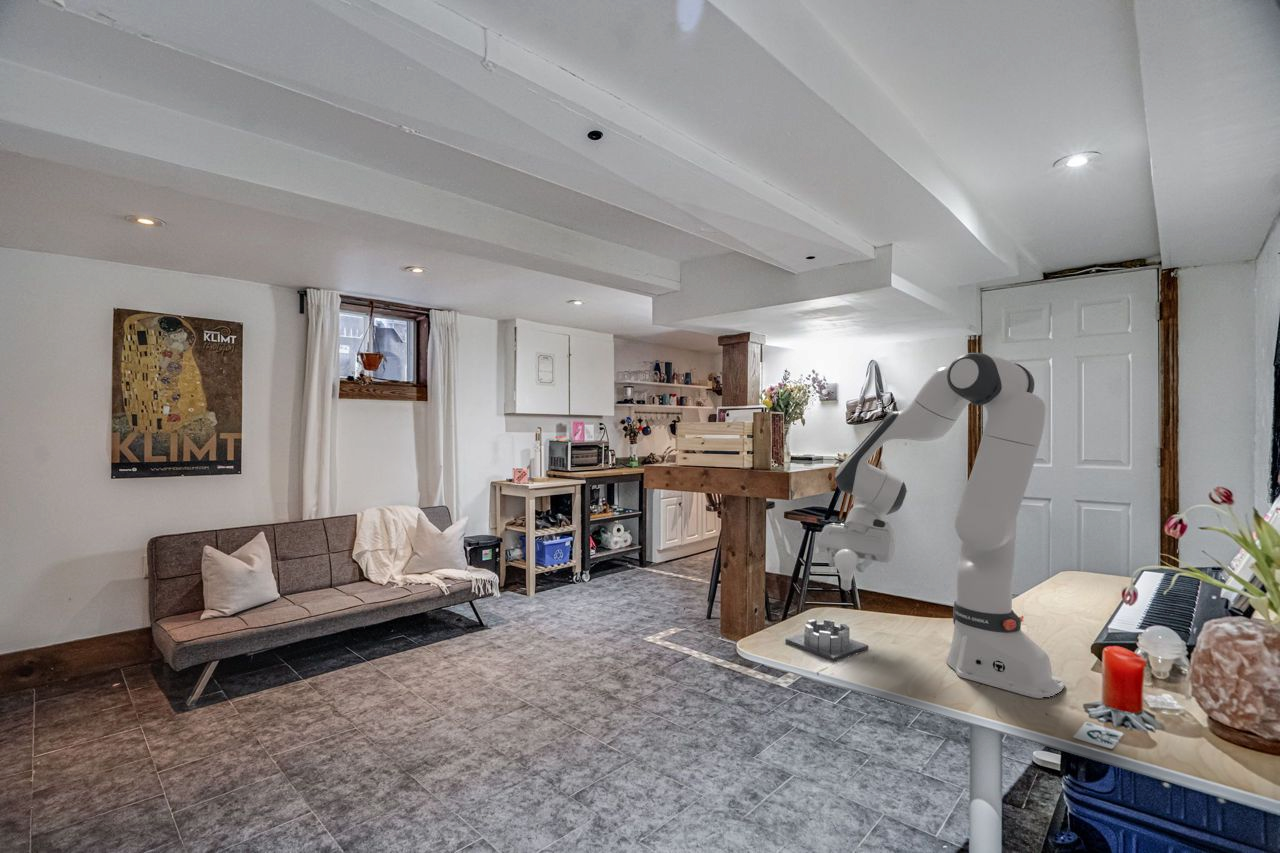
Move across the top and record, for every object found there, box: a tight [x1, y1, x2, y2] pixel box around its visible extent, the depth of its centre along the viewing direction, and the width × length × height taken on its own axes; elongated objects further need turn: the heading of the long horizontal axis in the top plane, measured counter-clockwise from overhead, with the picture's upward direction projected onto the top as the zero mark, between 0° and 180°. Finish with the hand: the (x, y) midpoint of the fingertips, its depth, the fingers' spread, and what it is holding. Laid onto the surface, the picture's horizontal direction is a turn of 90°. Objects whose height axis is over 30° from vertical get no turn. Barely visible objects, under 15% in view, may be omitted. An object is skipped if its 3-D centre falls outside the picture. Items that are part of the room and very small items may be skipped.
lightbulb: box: [834, 549, 860, 591], centre depth 158 cm, size 6×6×11 cm
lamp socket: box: [785, 618, 869, 663], centre depth 147 cm, size 14×14×5 cm
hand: (845, 568), depth 157 cm, fingers closed on lightbulb, 6 cm apart
